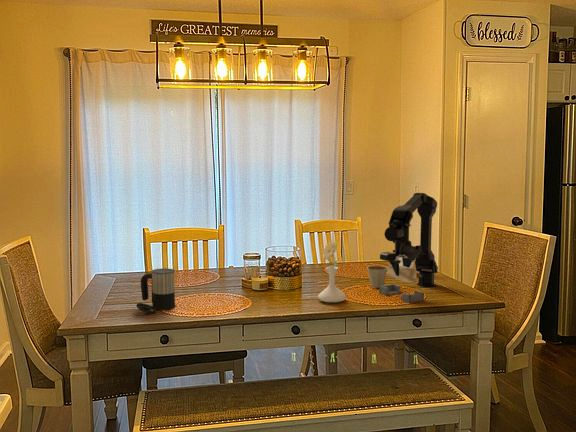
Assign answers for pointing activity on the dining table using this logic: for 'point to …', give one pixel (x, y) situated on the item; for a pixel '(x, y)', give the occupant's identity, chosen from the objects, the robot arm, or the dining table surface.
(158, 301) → the milk frother
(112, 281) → the dining table surface
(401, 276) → the beige rectangular block
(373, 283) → the flower pot
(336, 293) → the flower in vase
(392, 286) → the end caps
